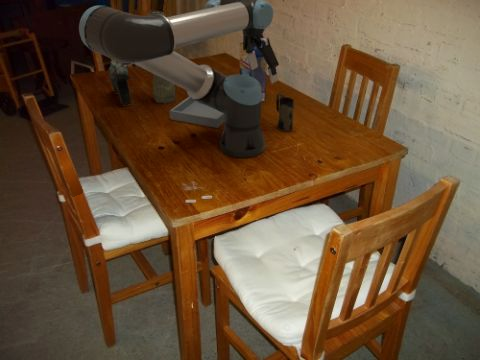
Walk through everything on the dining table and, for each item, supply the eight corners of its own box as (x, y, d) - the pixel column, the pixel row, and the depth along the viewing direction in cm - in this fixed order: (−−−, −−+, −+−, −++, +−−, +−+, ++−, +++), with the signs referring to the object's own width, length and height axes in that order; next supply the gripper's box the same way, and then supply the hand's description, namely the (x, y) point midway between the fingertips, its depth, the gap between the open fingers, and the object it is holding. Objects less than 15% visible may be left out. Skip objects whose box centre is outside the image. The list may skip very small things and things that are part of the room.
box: (217, 128, 153) (217, 119, 151) (170, 119, 159) (169, 110, 157) (238, 108, 168) (238, 99, 166) (194, 100, 174) (194, 92, 172)
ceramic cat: (134, 106, 169) (127, 57, 158) (118, 109, 167) (110, 59, 156) (124, 90, 184) (117, 44, 174) (109, 92, 182) (101, 46, 171)
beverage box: (253, 91, 183) (254, 41, 171) (265, 100, 175) (267, 47, 163) (239, 94, 181) (239, 42, 169) (251, 103, 172) (251, 49, 160)
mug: (295, 129, 152) (298, 98, 145) (284, 133, 149) (286, 101, 143) (281, 121, 157) (283, 91, 151) (270, 125, 155) (271, 94, 148)
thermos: (162, 106, 169) (153, 16, 150) (148, 98, 177) (138, 11, 158) (181, 101, 174) (174, 13, 154) (167, 93, 181) (158, 8, 162)
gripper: (282, 26, 131) (292, 82, 146) (242, 6, 148) (255, 58, 163) (262, 36, 129) (274, 92, 144) (224, 15, 146) (239, 67, 161)
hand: (264, 74), depth 153 cm, fingers open, 13 cm apart
